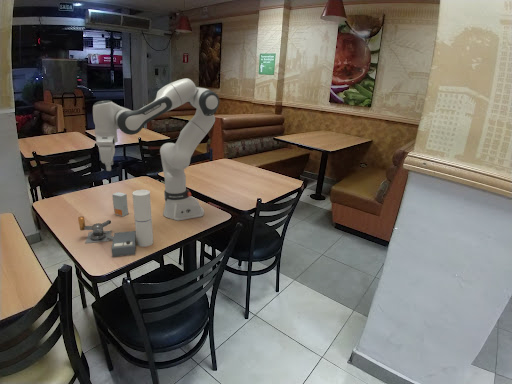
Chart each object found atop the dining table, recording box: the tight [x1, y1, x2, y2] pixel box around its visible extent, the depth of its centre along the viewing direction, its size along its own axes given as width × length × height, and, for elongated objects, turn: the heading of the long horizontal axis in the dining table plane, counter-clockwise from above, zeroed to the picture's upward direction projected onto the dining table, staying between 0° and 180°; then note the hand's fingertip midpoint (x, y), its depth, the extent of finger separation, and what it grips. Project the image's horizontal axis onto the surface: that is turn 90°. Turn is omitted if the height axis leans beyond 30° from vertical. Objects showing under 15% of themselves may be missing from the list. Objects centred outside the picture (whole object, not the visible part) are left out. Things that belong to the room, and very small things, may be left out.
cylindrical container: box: [132, 189, 154, 248], centre depth 135 cm, size 7×7×25 cm
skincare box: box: [111, 191, 129, 217], centre depth 163 cm, size 6×4×12 cm
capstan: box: [77, 216, 112, 240], centre depth 140 cm, size 13×12×10 cm
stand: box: [84, 230, 137, 258], centre depth 137 cm, size 22×24×6 cm
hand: (110, 167), depth 141 cm, fingers open, 8 cm apart
